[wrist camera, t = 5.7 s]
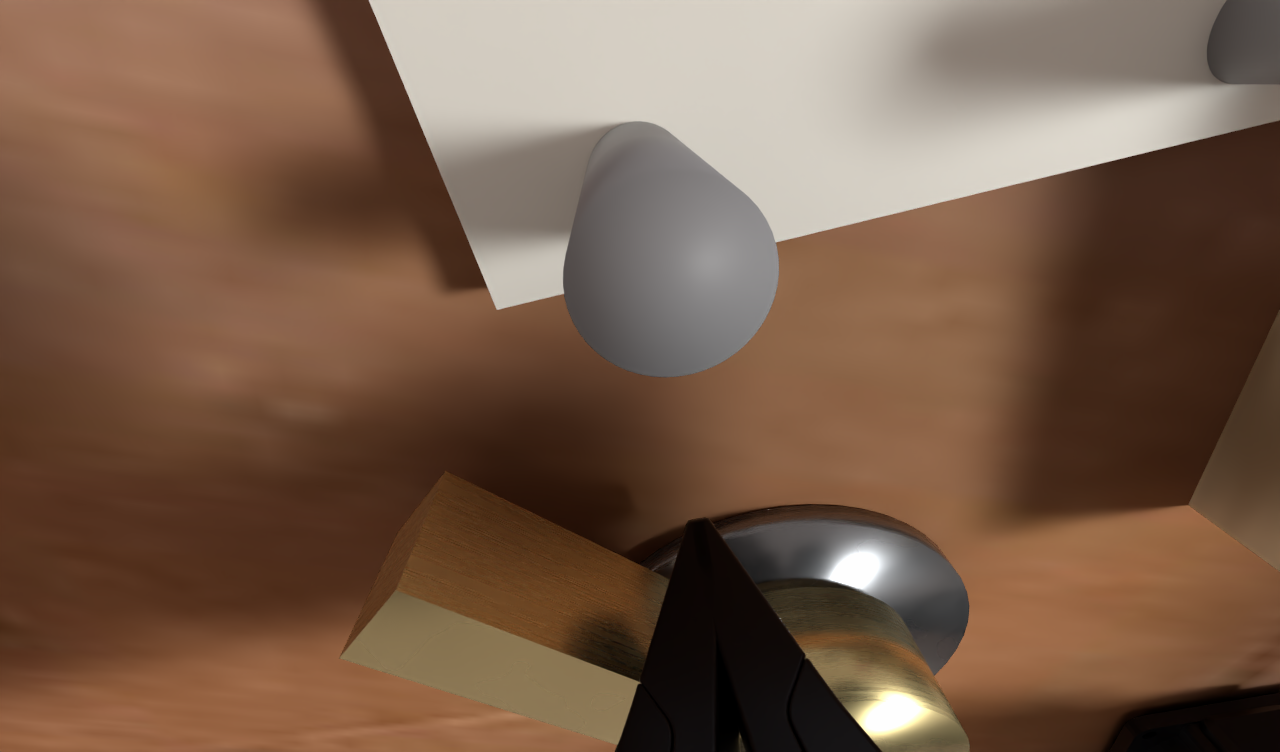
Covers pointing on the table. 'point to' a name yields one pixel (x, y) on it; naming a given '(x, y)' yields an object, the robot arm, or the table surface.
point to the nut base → (849, 565)
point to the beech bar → (1249, 461)
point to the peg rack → (781, 131)
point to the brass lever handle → (601, 626)
